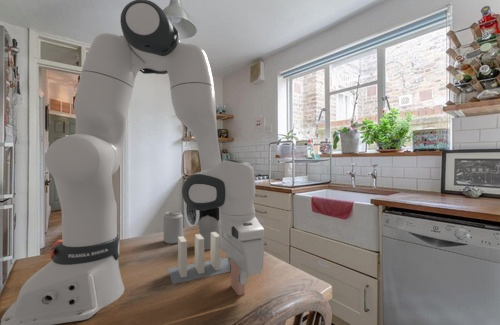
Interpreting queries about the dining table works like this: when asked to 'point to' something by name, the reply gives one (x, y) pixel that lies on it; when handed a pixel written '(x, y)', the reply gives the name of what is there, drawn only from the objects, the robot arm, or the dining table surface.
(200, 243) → the domino
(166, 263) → the dining table surface
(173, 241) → the can
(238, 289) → the domino
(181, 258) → the domino
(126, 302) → the dining table surface
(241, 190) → the robot arm
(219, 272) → the mat
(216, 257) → the domino
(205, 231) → the grey mug
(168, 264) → the dining table surface
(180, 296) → the dining table surface
